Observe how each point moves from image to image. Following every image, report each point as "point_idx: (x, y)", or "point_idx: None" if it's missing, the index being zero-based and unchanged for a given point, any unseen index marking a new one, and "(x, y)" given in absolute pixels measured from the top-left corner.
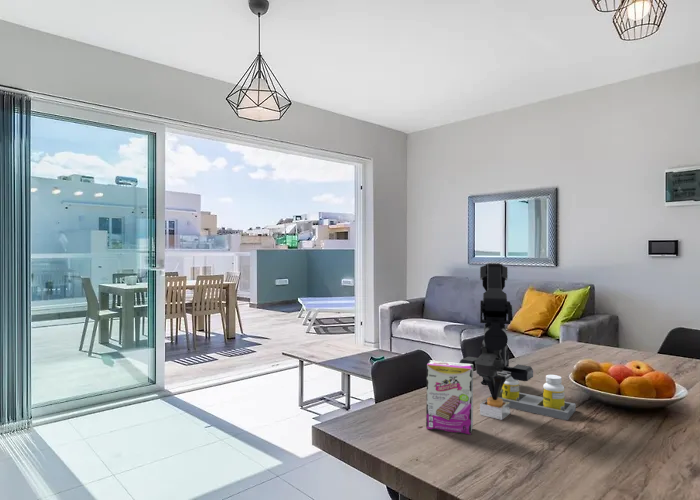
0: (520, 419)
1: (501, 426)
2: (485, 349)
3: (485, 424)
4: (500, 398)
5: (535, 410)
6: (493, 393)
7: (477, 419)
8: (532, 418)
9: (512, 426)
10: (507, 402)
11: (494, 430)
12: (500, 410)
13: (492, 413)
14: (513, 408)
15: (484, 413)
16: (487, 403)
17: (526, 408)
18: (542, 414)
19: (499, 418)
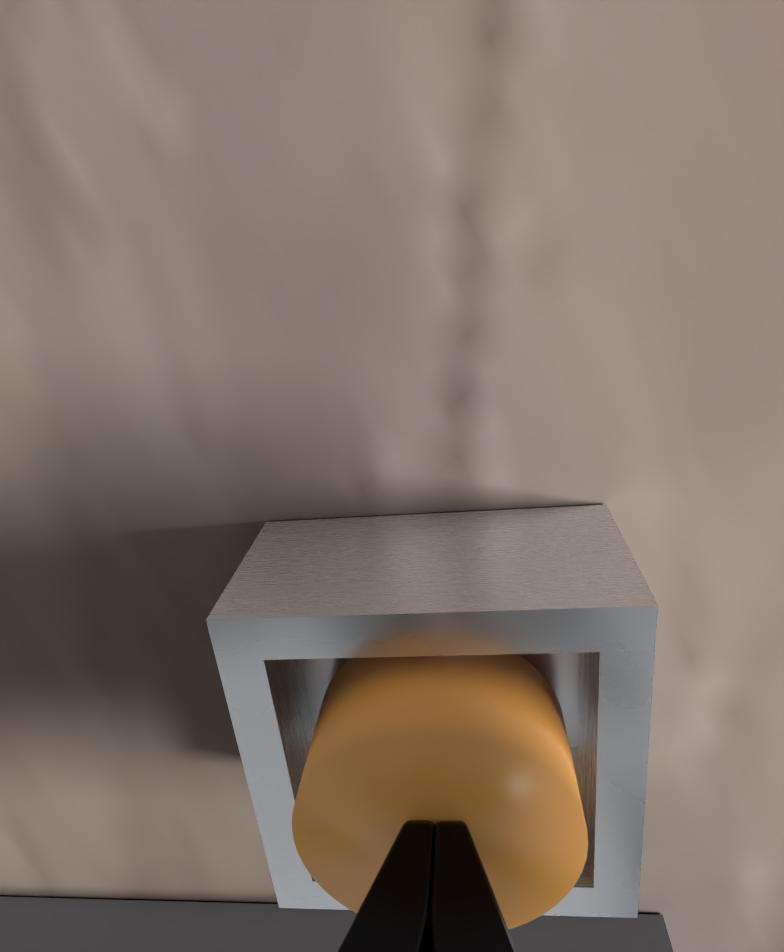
0: (129, 681)
1: (132, 291)
2: None
3: (346, 175)
4: None
5: (119, 933)
6: (435, 946)
7: (556, 292)
8: (69, 776)
9: (41, 406)
10: (307, 895)
11: (95, 22)
12: (244, 596)
13: (399, 547)
14: None
15: (536, 526)
16: (550, 714)
17: (213, 936)
18: (64, 903)
19: (297, 528)
